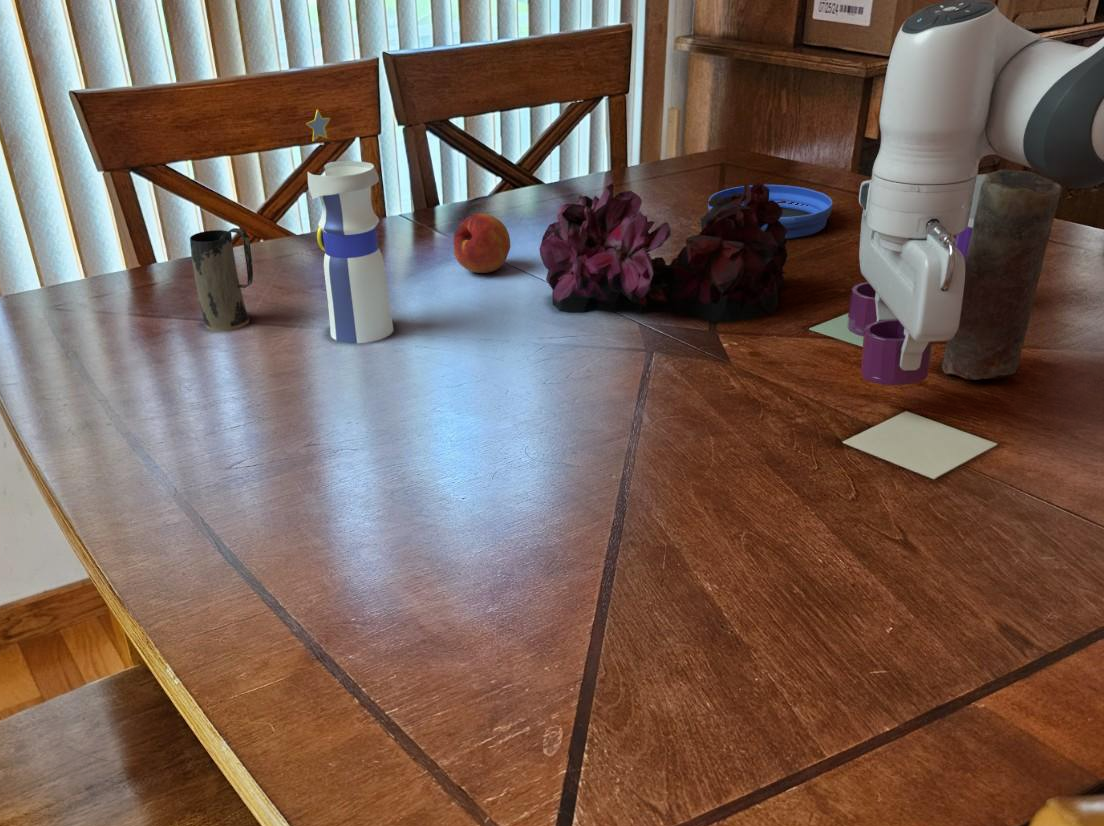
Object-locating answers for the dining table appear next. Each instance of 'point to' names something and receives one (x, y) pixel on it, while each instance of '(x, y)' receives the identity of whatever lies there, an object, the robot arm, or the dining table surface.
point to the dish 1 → (861, 308)
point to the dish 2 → (889, 355)
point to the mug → (220, 278)
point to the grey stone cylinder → (1001, 273)
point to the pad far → (839, 330)
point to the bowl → (794, 208)
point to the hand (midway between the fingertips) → (896, 351)
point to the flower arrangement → (649, 284)
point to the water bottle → (350, 248)
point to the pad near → (920, 444)
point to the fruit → (481, 243)
